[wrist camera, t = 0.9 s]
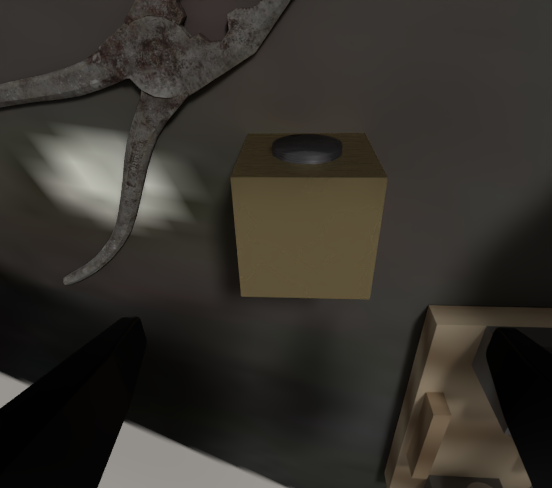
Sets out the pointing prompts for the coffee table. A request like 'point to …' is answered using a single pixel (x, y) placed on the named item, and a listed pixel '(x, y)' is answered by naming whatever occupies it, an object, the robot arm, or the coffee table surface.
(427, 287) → the coffee table surface
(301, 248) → the block
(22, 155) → the coffee table surface
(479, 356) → the shaft stand
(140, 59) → the pliers
